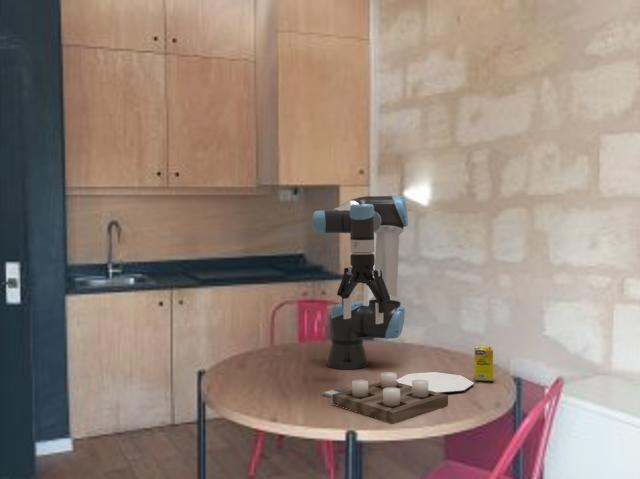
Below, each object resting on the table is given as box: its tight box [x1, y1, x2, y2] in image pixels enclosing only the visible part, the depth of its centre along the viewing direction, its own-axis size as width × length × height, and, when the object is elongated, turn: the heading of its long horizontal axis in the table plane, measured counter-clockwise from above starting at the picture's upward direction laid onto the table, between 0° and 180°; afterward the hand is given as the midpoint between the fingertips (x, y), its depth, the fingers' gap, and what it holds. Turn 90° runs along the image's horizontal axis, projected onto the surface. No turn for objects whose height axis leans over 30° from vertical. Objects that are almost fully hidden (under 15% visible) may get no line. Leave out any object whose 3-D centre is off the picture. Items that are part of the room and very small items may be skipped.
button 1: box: [351, 378, 369, 397], centre depth 199 cm, size 5×5×4 cm
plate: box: [397, 371, 474, 394], centre depth 220 cm, size 24×24×2 cm
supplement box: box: [473, 346, 494, 384], centre depth 224 cm, size 6×6×11 cm
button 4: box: [412, 380, 428, 397], centre depth 198 cm, size 5×5×4 cm
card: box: [320, 387, 350, 399], centre depth 210 cm, size 9×9×1 cm
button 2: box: [380, 371, 398, 388], centre depth 207 cm, size 5×5×4 cm
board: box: [332, 381, 449, 424], centre depth 198 cm, size 24×24×3 cm
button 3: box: [383, 388, 400, 406], centre depth 189 cm, size 5×5×4 cm
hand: (363, 321), depth 210 cm, fingers open, 13 cm apart
